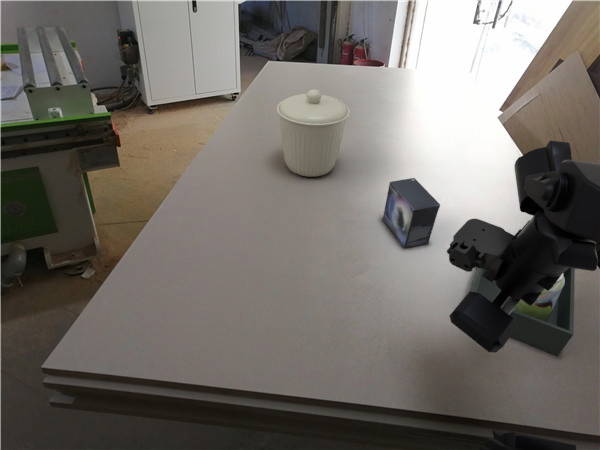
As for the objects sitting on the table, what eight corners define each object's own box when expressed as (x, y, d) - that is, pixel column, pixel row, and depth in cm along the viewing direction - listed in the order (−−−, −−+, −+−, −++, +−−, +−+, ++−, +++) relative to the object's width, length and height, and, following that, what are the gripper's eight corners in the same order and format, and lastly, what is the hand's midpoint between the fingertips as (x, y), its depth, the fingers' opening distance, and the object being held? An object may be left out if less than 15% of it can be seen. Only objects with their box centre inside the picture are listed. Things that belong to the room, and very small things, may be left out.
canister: (327, 147, 119) (333, 75, 106) (354, 179, 106) (365, 100, 93) (268, 156, 114) (267, 80, 101) (288, 190, 100) (290, 108, 87)
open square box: (557, 356, 65) (573, 334, 62) (461, 317, 71) (471, 295, 67) (561, 288, 77) (575, 267, 74) (479, 260, 83) (488, 239, 79)
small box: (380, 219, 92) (387, 180, 86) (405, 215, 94) (414, 176, 87) (402, 249, 84) (413, 208, 78) (429, 244, 86) (442, 204, 80)
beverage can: (552, 324, 70) (585, 274, 62) (521, 337, 67) (552, 288, 60) (523, 298, 74) (550, 249, 67) (493, 310, 71) (518, 260, 64)
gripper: (517, 165, 50) (474, 232, 63) (428, 259, 43) (401, 313, 56) (607, 216, 46) (541, 278, 59) (526, 331, 39) (471, 372, 52)
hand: (488, 307), depth 56 cm, fingers open, 9 cm apart
